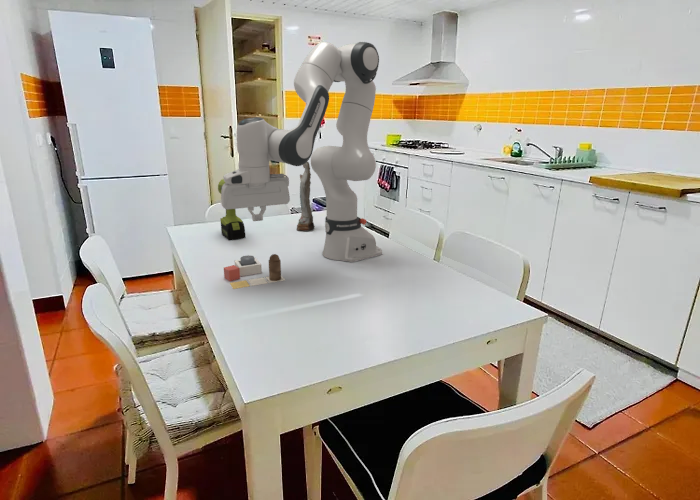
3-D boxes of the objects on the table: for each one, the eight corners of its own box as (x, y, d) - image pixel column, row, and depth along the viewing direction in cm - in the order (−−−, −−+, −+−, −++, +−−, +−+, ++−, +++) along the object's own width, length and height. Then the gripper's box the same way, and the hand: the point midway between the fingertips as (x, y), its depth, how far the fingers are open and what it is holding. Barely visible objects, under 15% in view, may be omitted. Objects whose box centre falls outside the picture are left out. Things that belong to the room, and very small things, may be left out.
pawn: (279, 275, 134) (278, 251, 131) (282, 279, 131) (281, 255, 128) (268, 277, 133) (266, 253, 130) (271, 281, 129) (270, 257, 127)
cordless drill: (255, 245, 167) (251, 181, 158) (237, 247, 163) (232, 183, 155) (236, 230, 185) (231, 173, 177) (219, 233, 181) (214, 174, 173)
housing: (256, 266, 142) (255, 257, 141) (261, 273, 136) (261, 264, 135) (235, 269, 139) (234, 260, 138) (239, 276, 133) (239, 267, 132)
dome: (253, 266, 140) (252, 254, 139) (256, 270, 137) (255, 258, 135) (239, 268, 138) (238, 256, 137) (242, 272, 135) (242, 260, 133)
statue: (300, 226, 193) (298, 159, 183) (316, 227, 192) (315, 160, 182) (295, 231, 186) (293, 162, 176) (311, 232, 185) (310, 162, 175)
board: (270, 264, 146) (270, 261, 146) (289, 286, 129) (289, 282, 129) (220, 272, 139) (220, 269, 138) (233, 296, 122) (233, 292, 122)
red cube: (234, 275, 134) (233, 265, 133) (240, 278, 132) (239, 268, 130) (224, 278, 132) (223, 267, 131) (229, 281, 129) (228, 270, 128)
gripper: (285, 171, 132) (287, 214, 136) (217, 175, 124) (222, 221, 128) (291, 174, 127) (293, 219, 131) (221, 179, 118) (225, 226, 123)
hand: (257, 220), depth 130 cm, fingers closed
